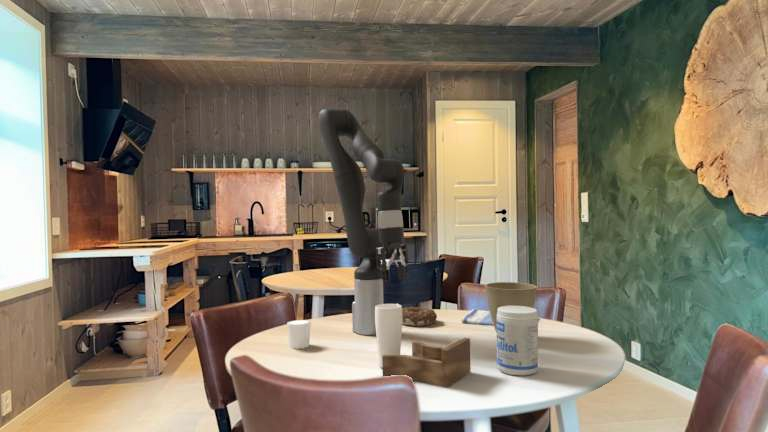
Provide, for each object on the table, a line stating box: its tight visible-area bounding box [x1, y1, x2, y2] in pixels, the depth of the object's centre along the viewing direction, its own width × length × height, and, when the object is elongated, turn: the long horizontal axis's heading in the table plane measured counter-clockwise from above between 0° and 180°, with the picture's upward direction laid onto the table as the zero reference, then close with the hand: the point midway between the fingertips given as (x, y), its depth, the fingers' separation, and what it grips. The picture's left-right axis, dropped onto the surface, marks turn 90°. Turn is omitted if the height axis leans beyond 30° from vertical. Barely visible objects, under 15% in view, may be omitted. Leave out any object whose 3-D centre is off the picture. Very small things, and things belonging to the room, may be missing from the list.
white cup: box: [286, 319, 312, 350], centre depth 143 cm, size 7×7×7 cm
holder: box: [382, 337, 471, 388], centre depth 116 cm, size 16×16×8 cm
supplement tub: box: [496, 306, 539, 377], centre depth 117 cm, size 10×10×15 cm
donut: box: [402, 306, 438, 327], centre depth 170 cm, size 14×14×5 cm
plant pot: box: [484, 281, 538, 334], centre depth 147 cm, size 15×15×16 cm
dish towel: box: [461, 308, 494, 327], centre depth 172 cm, size 17×24×3 cm
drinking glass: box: [375, 303, 403, 369], centre depth 122 cm, size 7×7×15 cm
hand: (394, 281), depth 145 cm, fingers open, 8 cm apart
